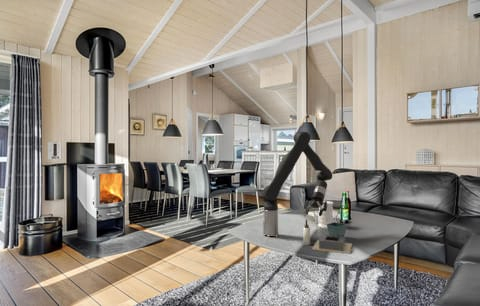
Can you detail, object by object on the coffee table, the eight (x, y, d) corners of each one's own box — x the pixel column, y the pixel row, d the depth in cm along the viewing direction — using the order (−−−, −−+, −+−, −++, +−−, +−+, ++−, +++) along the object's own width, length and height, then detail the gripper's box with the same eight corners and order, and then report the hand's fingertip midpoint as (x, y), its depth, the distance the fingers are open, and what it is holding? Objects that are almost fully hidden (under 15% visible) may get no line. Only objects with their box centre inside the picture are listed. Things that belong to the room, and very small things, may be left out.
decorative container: (337, 227, 218) (337, 202, 218) (324, 229, 214) (324, 204, 214) (327, 224, 229) (327, 200, 229) (314, 225, 225) (314, 201, 225)
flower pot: (338, 241, 184) (338, 226, 184) (326, 238, 192) (326, 224, 192) (347, 238, 190) (346, 224, 190) (335, 235, 197) (334, 222, 197)
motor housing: (312, 249, 169) (312, 240, 169) (317, 241, 184) (317, 233, 184) (349, 253, 161) (349, 244, 161) (352, 245, 176) (351, 236, 176)
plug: (302, 244, 179) (302, 219, 179) (304, 242, 182) (303, 218, 182) (309, 245, 177) (309, 220, 177) (310, 243, 181) (310, 218, 181)
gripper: (307, 190, 200) (300, 210, 190) (328, 191, 192) (322, 212, 182) (310, 197, 204) (304, 217, 195) (331, 198, 196) (325, 219, 187)
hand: (313, 214), depth 189 cm, fingers open, 8 cm apart
